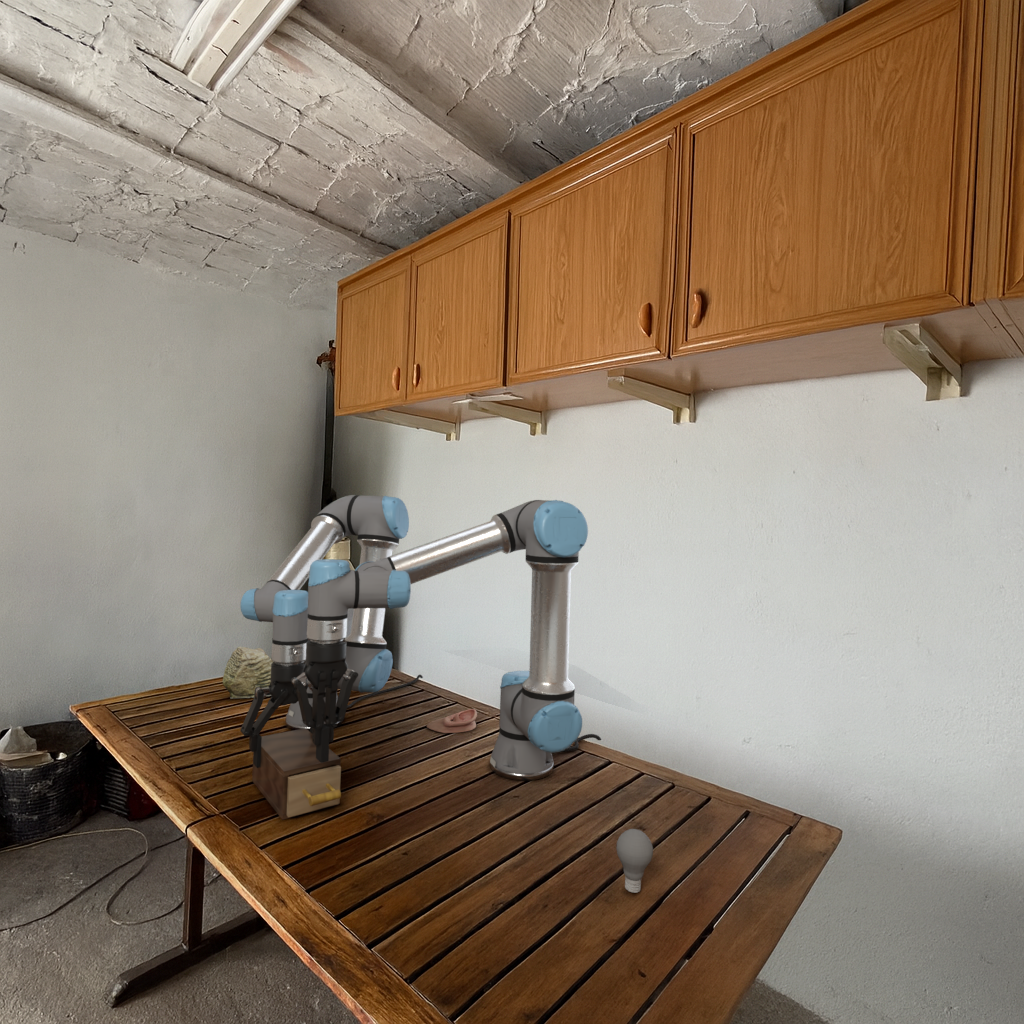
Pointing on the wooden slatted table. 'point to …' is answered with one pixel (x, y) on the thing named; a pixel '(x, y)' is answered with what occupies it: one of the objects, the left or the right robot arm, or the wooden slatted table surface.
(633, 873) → the light bulb
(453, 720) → the anatomical model
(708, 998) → the wooden slatted table surface
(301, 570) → the left robot arm
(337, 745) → the wooden slatted table surface
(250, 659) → the fossil
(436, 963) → the wooden slatted table surface
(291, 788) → the drawer
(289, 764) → the cabinet
